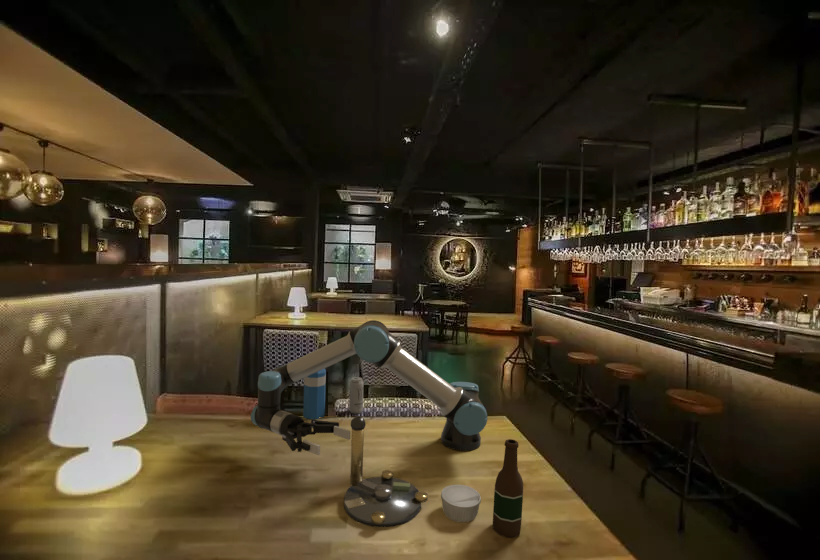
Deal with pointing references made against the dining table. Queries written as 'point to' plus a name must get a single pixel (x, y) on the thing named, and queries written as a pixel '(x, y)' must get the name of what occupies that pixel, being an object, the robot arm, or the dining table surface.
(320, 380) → the water bottle
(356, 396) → the energy drink can
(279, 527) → the dining table surface
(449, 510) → the ramekin
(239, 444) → the dining table surface
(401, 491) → the plate
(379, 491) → the ball topped crank handle
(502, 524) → the beer bottle
